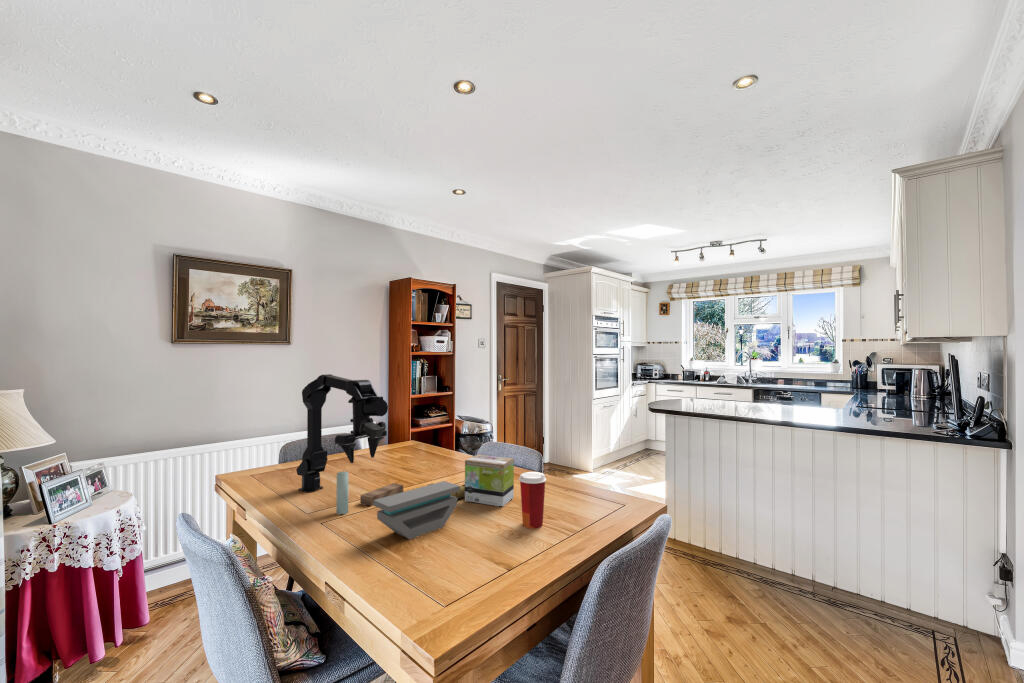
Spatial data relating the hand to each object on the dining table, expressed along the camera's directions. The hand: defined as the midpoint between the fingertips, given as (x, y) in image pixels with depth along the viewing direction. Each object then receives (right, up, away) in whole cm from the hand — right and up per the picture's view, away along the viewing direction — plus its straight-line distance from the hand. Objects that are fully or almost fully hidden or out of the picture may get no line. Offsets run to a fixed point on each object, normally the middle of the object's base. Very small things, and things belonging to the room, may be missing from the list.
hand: (362, 460), depth 156 cm
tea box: (+45, -15, 0) cm, 47 cm away
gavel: (+27, -15, +8) cm, 32 cm away
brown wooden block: (+6, -14, +3) cm, 16 cm away
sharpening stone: (+25, -14, -26) cm, 38 cm away
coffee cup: (+59, -14, -22) cm, 64 cm away
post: (-3, -14, -12) cm, 19 cm away
